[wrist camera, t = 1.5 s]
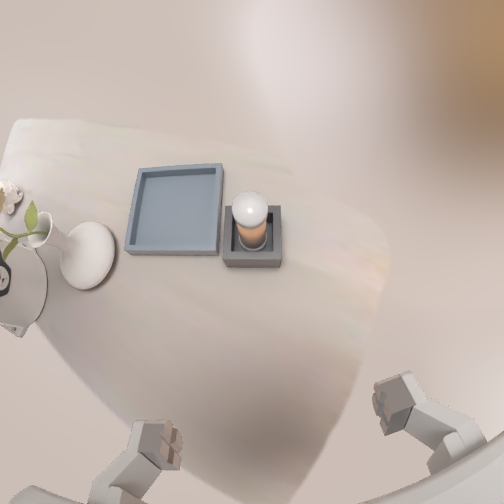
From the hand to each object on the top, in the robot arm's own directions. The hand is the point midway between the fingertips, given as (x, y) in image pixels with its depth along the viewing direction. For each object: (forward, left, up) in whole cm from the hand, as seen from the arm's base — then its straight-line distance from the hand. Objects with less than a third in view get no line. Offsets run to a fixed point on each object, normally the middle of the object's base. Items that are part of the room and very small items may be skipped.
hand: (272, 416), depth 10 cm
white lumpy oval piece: (-58, +27, -29) cm, 70 cm away
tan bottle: (-2, +16, -28) cm, 32 cm away
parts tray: (-14, +21, -29) cm, 38 cm away
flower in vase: (-30, +13, -29) cm, 43 cm away
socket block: (-2, +16, -29) cm, 33 cm away
